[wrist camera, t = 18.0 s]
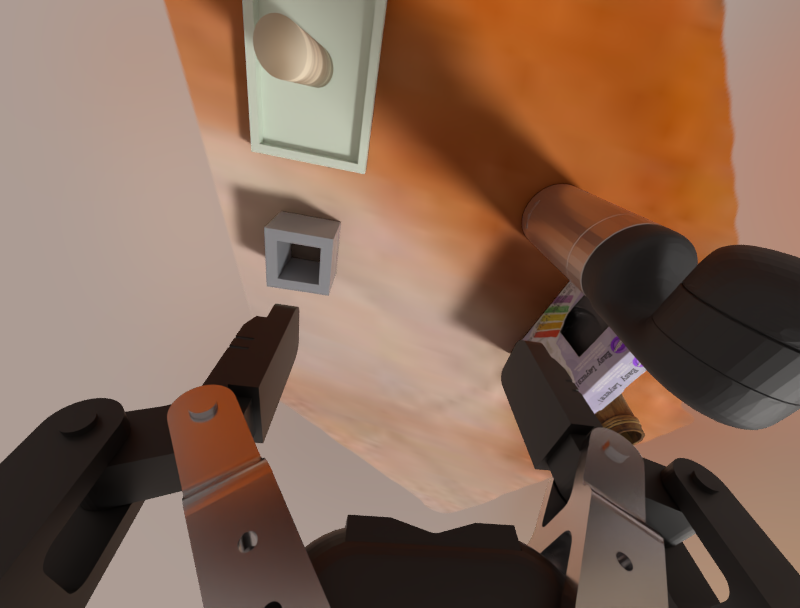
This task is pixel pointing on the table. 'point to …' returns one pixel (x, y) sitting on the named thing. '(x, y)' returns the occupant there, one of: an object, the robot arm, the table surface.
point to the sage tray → (326, 106)
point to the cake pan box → (586, 348)
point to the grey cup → (299, 271)
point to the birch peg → (291, 52)
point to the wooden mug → (621, 420)
